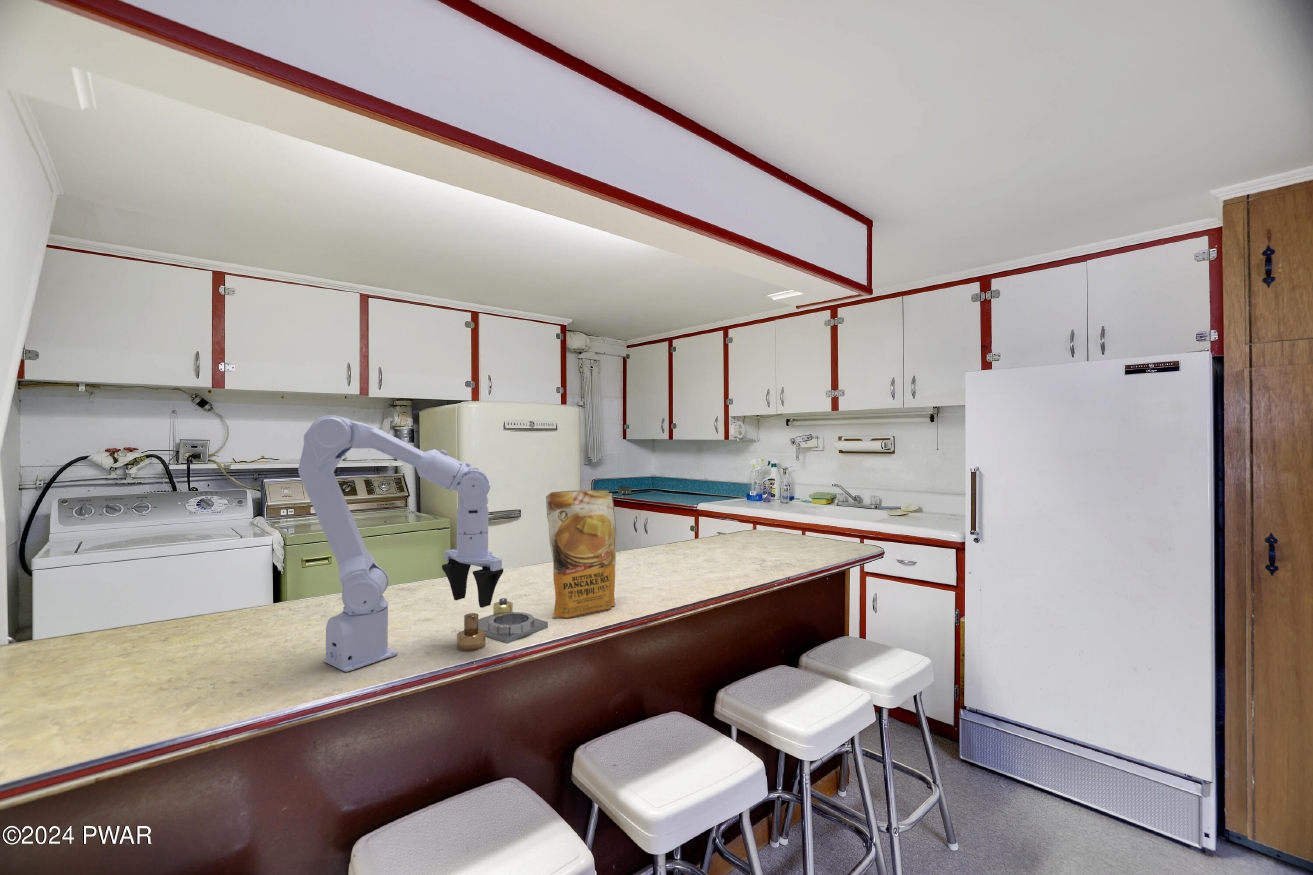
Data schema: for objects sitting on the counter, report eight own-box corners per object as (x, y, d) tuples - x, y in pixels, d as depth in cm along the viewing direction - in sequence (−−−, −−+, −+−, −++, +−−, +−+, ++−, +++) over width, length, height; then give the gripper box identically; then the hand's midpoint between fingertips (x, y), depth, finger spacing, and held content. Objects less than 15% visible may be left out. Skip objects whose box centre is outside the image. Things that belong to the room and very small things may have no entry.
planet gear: (468, 653, 102) (468, 621, 102) (451, 647, 105) (451, 616, 105) (491, 645, 107) (491, 614, 107) (473, 639, 110) (473, 609, 110)
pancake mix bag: (538, 614, 125) (539, 491, 125) (610, 600, 136) (611, 487, 136) (551, 622, 120) (552, 494, 120) (625, 607, 131) (626, 489, 131)
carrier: (509, 643, 107) (509, 618, 107) (464, 629, 115) (465, 605, 115) (549, 627, 117) (549, 604, 117) (506, 615, 124) (506, 593, 124)
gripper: (514, 532, 105) (514, 603, 105) (466, 525, 113) (465, 591, 113) (484, 538, 99) (484, 613, 99) (435, 530, 107) (434, 599, 108)
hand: (472, 602), depth 106 cm, fingers open, 7 cm apart
